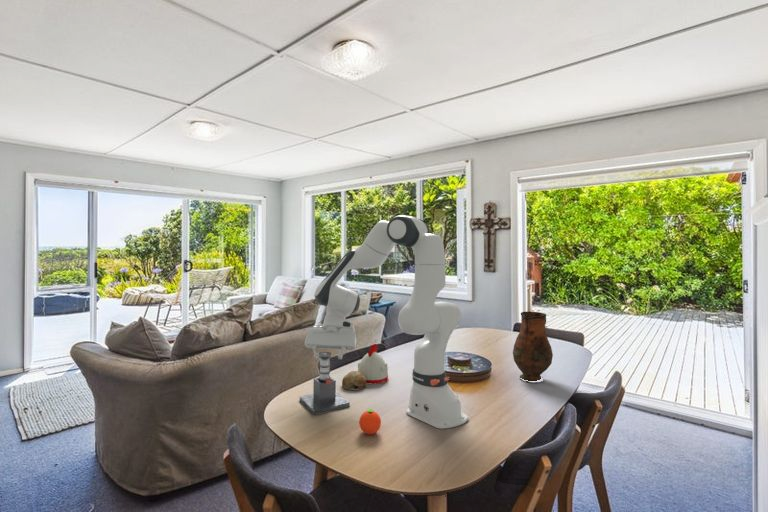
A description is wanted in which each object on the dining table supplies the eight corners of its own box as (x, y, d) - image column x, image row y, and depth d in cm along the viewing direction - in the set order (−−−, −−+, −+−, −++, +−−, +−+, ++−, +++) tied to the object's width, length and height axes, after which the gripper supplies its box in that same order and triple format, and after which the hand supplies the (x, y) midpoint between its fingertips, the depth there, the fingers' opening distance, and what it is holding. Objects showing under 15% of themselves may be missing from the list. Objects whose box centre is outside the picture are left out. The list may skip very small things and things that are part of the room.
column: (332, 399, 141) (333, 354, 140) (321, 402, 139) (321, 356, 138) (327, 395, 145) (328, 351, 144) (316, 397, 142) (316, 352, 142)
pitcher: (505, 379, 171) (507, 312, 170) (525, 368, 186) (527, 307, 185) (542, 389, 160) (544, 318, 158) (560, 377, 175) (563, 312, 174)
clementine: (358, 426, 125) (359, 404, 125) (380, 425, 125) (380, 404, 125) (359, 438, 117) (359, 416, 117) (381, 438, 117) (381, 415, 117)
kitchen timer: (392, 375, 173) (393, 343, 172) (379, 386, 160) (380, 350, 160) (365, 371, 178) (366, 339, 178) (351, 380, 166) (351, 346, 165)
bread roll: (343, 398, 156) (344, 384, 152) (339, 379, 164) (341, 365, 161) (366, 396, 158) (368, 382, 155) (362, 378, 167) (364, 364, 164)
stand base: (349, 406, 140) (350, 380, 139) (313, 415, 132) (314, 387, 132) (333, 393, 151) (333, 369, 151) (299, 400, 144) (300, 375, 144)
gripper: (307, 321, 154) (299, 352, 144) (357, 323, 152) (352, 355, 143) (310, 330, 158) (302, 360, 149) (358, 332, 157) (354, 363, 147)
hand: (327, 358), depth 146 cm, fingers open, 8 cm apart
